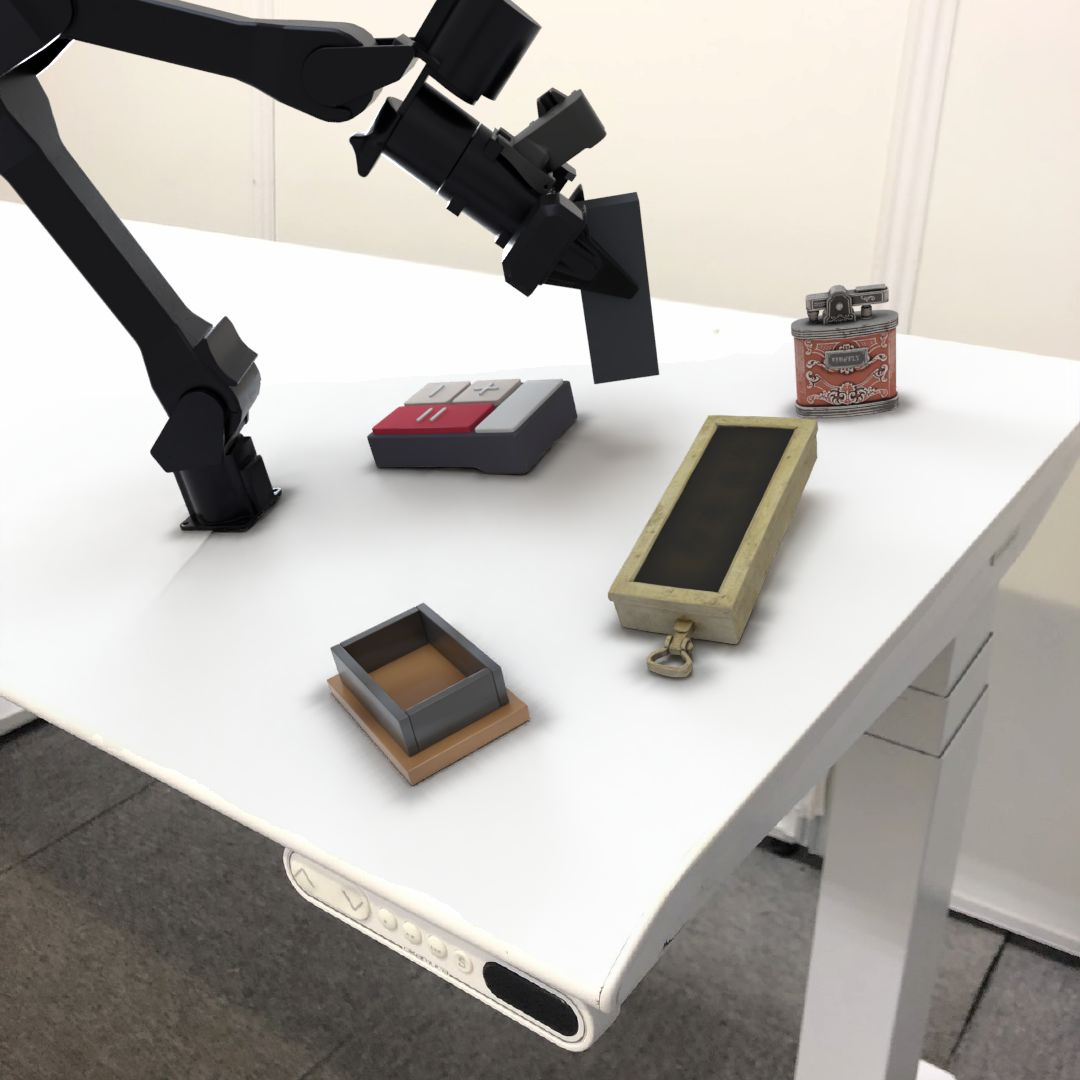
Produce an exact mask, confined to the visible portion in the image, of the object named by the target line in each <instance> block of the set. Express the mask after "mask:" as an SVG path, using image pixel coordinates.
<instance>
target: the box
mask: <svg viewBox="0 0 1080 1080" xmlns="http://www.w3.org/2000/svg"><path fill="white" fill-rule="evenodd" d="M818 432H819V423H818V419H816V418H806V417H783V416H782V417H781V416H780V417H779V416H759V415H758V416H757V415H755V416H754V415H724V414H723V415H722V414H712V415H711V414H710V415H707V417H706V418H705V421H704V422H703V424H702V425H701V427H700V429H699V430H698V433H697V434H696V435H695V438H694V440H693V442H692V444H691V445H690V447H689V449H688V451H687V453H686V454H685V456H684V458H683V460H682V461H681V464H680V465H679V467H678V468H677V470H676V471H675V473H674V475H673V476H672V479H671V480H670V483H669V484H668V486H667V487H666V488H665V491H664V492H663V494H662V496H661V498H660V499H659V502H658V503H657V505H656V506H655V508H654V510H653V512H652V514H651V516H650V517H649V519H648V521H647V522H646V524H645V525H644V527H643V529H642V531H641V532H640V534H639V536H638V538H637V539H636V541H635V543H634V545H633V547H632V548H631V551H630V552H629V554H628V555H627V557H626V559H625V561H624V563H623V564H622V566H621V568H620V570H619V571H618V573H617V575H616V576H615V578H614V580H613V582H612V584H611V585H610V588H609V590H608V591H607V598H608V600H609V601H610V602H613V605H614V609H615V611H616V615H617V618H618V621H619V623H620V626H621V628H626V629H627V628H628V629H634V630H639V631H644V632H650V633H656V634H657V633H658V634H664V635H667V636H666V638H665V640H664V641H663V644H662V645H663V647H661V648H659V649H657V650H655V651H652V652H651V653H649V654H648V655H647V656H646V666H647V668H648V669H649V671H651V672H653V673H656V674H658V675H661V676H666V677H670V678H683V677H685V678H686V677H688V676H689V675H690V673H691V672H692V671H693V667H694V664H693V659H691V658H692V657H690V655H691V654H692V653H693V652H695V645H694V643H693V642H692V640H691V639H697V640H704V641H710V642H718V643H725V644H731V645H736V644H739V642H740V640H741V638H742V636H743V633H744V631H745V628H746V625H747V624H748V621H749V619H750V616H751V614H752V611H753V609H754V607H755V604H756V602H757V600H758V597H759V594H760V592H761V590H762V587H763V585H764V582H765V580H766V578H767V575H768V573H769V571H770V569H771V567H772V564H773V562H774V559H775V557H776V555H777V552H778V550H779V548H780V546H781V543H782V542H783V539H784V537H785V534H786V532H787V529H788V528H789V525H790V524H791V521H792V518H793V516H794V514H795V512H796V510H797V507H798V505H799V503H800V500H801V498H802V496H803V493H804V491H805V488H806V486H807V483H808V482H809V480H810V477H811V474H812V471H813V469H814V467H815V464H816V462H817V459H818V437H817V434H818ZM669 655H670V656H671V655H675V656H681V659H682V660H683V661H684V664H683V665H680V666H670V665H665V664H662V663H661V664H660V663H657V662H656V661H658V660H659V659H662V658H665V657H667V656H669Z"/></svg>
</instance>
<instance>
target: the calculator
mask: <svg viewBox="0 0 1080 1080" xmlns="http://www.w3.org/2000/svg"><path fill="white" fill-rule="evenodd" d="M577 419H578V412H577V407H576V402H575V398H574V395H573V388H572V384H571V382H570V381H569V380H563V378H549V379H529V380H526V381H524V382H523V381H522V380H521V378H504V379H503V378H502V379H500V378H499V379H483V380H482V379H481V380H476V381H474V382H473V383H472V382H471V381H470V380H460V381H459V380H458V381H439V382H437V381H436V382H428V383H427V384H425V385H424V386H423V387H421V388H420V389H419V390H418V391H417V392H415V393H413V394H412V395H411V396H410V397H409V398H407V400H405V401H404V402H403V405H402V406H398V407H396V408H395V409H394V410H393V411H392V412H390V413H389V414H387V415H386V416H385V417H383V419H381V420H380V421H379V422H377V423H376V424H375V425H373V427H372V428H371V430H372V431H371V432H370V433H369V434H368V435H367V436H366V440H367V442H368V446H369V449H370V452H371V455H372V458H373V461H374V464H375V466H376V467H378V468H477V469H478V470H480V471H481V472H484V473H486V474H489V475H490V474H493V475H494V474H498V475H501V474H502V475H503V474H504V475H505V474H507V475H508V474H509V475H511V474H512V475H515V474H516V475H517V474H518V475H519V474H520V475H523V474H526V473H528V472H529V471H530V470H531V469H532V468H533V467H534V466H535V465H536V464H537V463H538V462H539V460H540V459H541V458H542V457H543V456H544V455H545V454H546V453H547V452H548V451H549V450H550V448H552V446H553V445H554V444H555V443H556V442H557V441H558V440H559V439H560V438H561V436H562V435H563V434H565V432H566V431H567V430H568V429H569V428H570V427H571V426H572V425H573V423H575V421H577Z"/></svg>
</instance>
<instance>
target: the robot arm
mask: <svg viewBox="0 0 1080 1080" xmlns="http://www.w3.org/2000/svg"><path fill="white" fill-rule="evenodd" d="M542 28H543V27H542V25H541V24H540V23H538V21H536V20H535V19H534V17H532V16H531V15H529V13H528V12H526V11H525V10H524V9H522V8H521V7H520V6H519V5H518V4H516V3H515V2H514V1H513V0H435V2H434V3H433V4H432V6H431V8H430V10H429V11H428V13H427V16H426V17H425V19H424V20H423V22H422V23H421V25H420V27H419V29H418V31H416V34H415V35H414V36H408V35H406V34H405V33H401V34H400V35H398V36H393V37H374V36H373V34H372V33H371V32H369V31H368V30H367V29H365V28H364V27H362V26H360V25H358V24H355V23H352V22H346V21H331V20H329V21H328V20H312V19H311V20H310V19H284V18H283V19H282V18H281V19H279V18H278V19H277V18H276V19H275V18H254V17H250V16H245V15H240V14H236V13H233V12H229V11H225V10H220V9H218V8H217V9H216V8H212V7H209V6H204V5H201V4H198V3H197V4H196V3H193V2H188V1H186V0H185V1H184V0H0V176H1V177H2V178H3V179H4V180H5V181H6V183H8V184H9V186H10V187H11V188H12V189H13V190H14V192H15V193H16V194H17V196H18V197H19V198H20V199H21V201H22V202H23V204H25V206H26V207H27V208H28V209H29V211H30V212H31V213H32V215H33V216H34V217H35V218H36V219H37V221H38V222H39V223H40V224H41V226H42V227H43V228H44V230H45V231H46V232H47V233H48V235H49V236H50V237H51V238H52V240H53V241H54V242H55V243H56V244H57V246H58V247H59V248H60V250H61V251H62V252H63V253H64V255H65V256H66V257H67V258H68V260H69V261H70V262H71V263H72V264H73V266H74V267H75V269H77V271H78V272H79V273H80V275H81V276H82V277H83V279H85V281H86V282H87V283H88V284H89V286H90V287H91V288H92V289H93V291H94V292H95V293H96V295H97V296H98V297H99V298H100V300H101V301H102V302H103V304H105V306H106V307H107V308H108V309H109V311H110V312H111V314H112V315H113V316H114V317H115V318H116V320H117V321H118V322H119V323H120V324H121V326H122V327H123V328H124V330H125V331H126V332H127V334H128V335H129V336H130V337H131V338H132V339H133V341H134V342H135V344H136V345H137V347H138V349H139V351H140V354H141V357H142V361H143V364H144V368H145V371H146V374H147V377H148V380H149V384H150V386H151V389H152V391H153V393H154V395H155V396H156V398H157V400H158V402H159V403H160V405H161V406H162V408H163V410H164V411H165V414H166V416H167V417H168V419H167V421H166V423H165V424H164V426H163V428H162V430H161V431H160V432H159V435H158V436H157V438H156V440H155V442H154V443H153V445H152V446H151V448H150V450H149V453H150V455H151V457H152V458H153V459H154V460H155V461H156V463H157V464H158V465H159V467H160V468H161V469H162V470H163V471H164V472H165V473H166V474H171V473H173V476H174V478H175V481H176V484H177V486H178V489H179V491H180V494H181V496H182V500H183V502H184V504H185V507H186V509H187V512H188V516H187V517H186V519H184V520H183V521H182V522H181V523H180V524H179V528H180V531H182V532H216V531H217V532H224V531H226V532H227V531H228V532H230V531H231V532H232V531H233V532H235V531H237V532H238V531H239V532H240V531H246V530H248V529H249V528H250V527H251V526H252V525H253V524H254V523H255V522H256V521H257V520H258V519H259V518H260V517H261V516H262V515H263V514H264V513H265V512H266V511H267V510H268V509H270V507H271V506H272V505H273V504H274V503H275V502H276V501H277V500H278V499H279V498H280V497H281V496H282V495H283V491H282V488H281V487H273V485H272V482H271V479H270V476H269V474H268V470H267V468H266V465H265V462H264V459H263V456H262V455H261V454H259V453H257V450H256V447H255V444H254V441H253V438H252V436H251V435H244V434H243V433H241V431H242V430H243V428H244V426H245V425H247V424H248V423H249V420H250V410H251V408H252V406H253V405H254V404H255V402H256V400H257V399H258V397H259V395H260V391H261V384H262V383H261V382H262V377H261V372H260V370H259V367H258V366H257V364H256V362H255V361H256V360H257V358H258V357H259V353H258V352H256V351H254V350H253V349H252V348H250V347H249V346H248V345H247V344H246V343H245V342H244V340H243V339H242V338H241V336H240V334H239V332H238V331H237V329H236V327H235V325H234V323H233V322H232V320H231V319H230V318H229V317H228V316H227V315H222V316H221V317H220V318H219V319H218V320H217V321H216V322H215V323H214V324H213V323H211V322H209V320H206V319H205V318H203V317H201V316H199V315H198V314H196V313H195V312H193V311H192V310H191V309H190V308H189V307H188V306H187V305H186V304H185V302H184V301H183V300H182V299H181V297H180V296H179V295H178V293H177V292H176V291H175V290H174V289H175V288H173V287H172V286H171V284H170V283H169V282H168V280H167V279H166V277H165V276H164V274H162V272H161V271H160V270H159V268H158V267H157V266H156V264H155V263H154V262H153V260H152V259H151V258H150V256H149V255H148V254H147V253H146V251H145V250H144V248H143V247H142V246H141V245H140V244H139V242H138V241H137V239H136V238H135V236H134V235H133V234H132V233H131V231H130V230H129V229H128V227H127V226H126V225H125V223H123V221H122V219H121V218H120V217H119V215H118V214H117V213H116V212H115V210H114V209H113V208H112V206H111V205H110V204H109V203H108V201H107V200H106V198H105V197H104V195H103V194H102V193H101V192H100V191H99V189H98V188H97V186H95V184H94V183H93V182H92V180H91V179H90V178H89V176H88V175H87V173H86V172H85V171H84V170H83V168H82V167H81V165H80V164H79V163H78V162H77V160H76V159H75V158H74V156H73V155H72V154H71V152H70V151H69V150H68V148H67V147H66V145H65V143H64V142H63V140H62V138H61V135H60V132H59V129H58V125H57V121H56V118H55V115H54V111H53V109H52V104H51V102H50V99H49V96H48V95H47V93H46V91H45V89H44V87H43V86H42V84H41V82H40V80H39V78H38V76H40V75H41V74H42V73H43V72H45V71H46V70H47V69H49V67H51V66H52V65H53V64H54V63H56V62H57V60H58V59H59V58H60V57H61V56H62V55H63V54H64V53H65V52H66V51H67V49H68V48H69V47H70V46H71V45H72V44H73V43H74V42H75V41H78V42H81V43H85V44H90V45H94V46H97V47H98V46H99V47H103V48H106V49H111V50H114V51H119V52H123V53H126V54H131V55H134V56H135V55H136V56H139V57H143V58H147V59H150V60H155V61H160V62H163V63H164V62H165V63H168V64H173V65H176V66H180V67H185V68H189V69H193V70H197V71H201V72H205V73H209V74H213V75H218V76H222V77H226V78H230V79H234V80H237V81H239V82H241V83H243V84H245V85H247V86H250V87H252V88H254V89H255V90H258V91H259V92H261V93H263V94H264V95H266V96H268V97H270V98H271V99H273V100H274V101H276V102H278V103H280V104H282V105H285V106H288V107H290V108H292V109H294V110H297V111H299V112H301V113H304V114H306V115H308V116H310V117H312V118H315V119H318V120H320V121H322V122H327V123H336V124H339V123H340V124H341V123H345V122H350V121H351V120H353V119H355V118H356V117H358V116H359V115H360V114H362V113H363V112H364V111H366V110H367V109H369V107H370V106H371V105H372V104H374V103H375V101H376V100H377V99H378V97H379V96H380V94H381V93H382V92H383V89H384V88H385V87H387V86H389V85H393V84H395V83H397V82H399V81H400V80H401V79H402V78H403V77H404V76H406V75H407V74H408V73H409V72H410V71H412V70H413V68H414V67H415V66H416V64H417V63H418V61H419V59H420V60H421V61H422V62H424V66H423V68H422V69H421V71H420V73H419V74H418V76H417V78H416V80H415V81H414V82H413V85H412V86H411V88H410V90H409V91H408V92H407V95H405V97H404V99H403V100H401V99H399V98H397V97H394V96H387V97H386V98H385V100H384V102H383V104H382V105H381V107H380V109H379V110H378V112H377V114H376V115H375V117H374V119H373V120H372V122H371V123H370V126H369V127H368V129H367V130H365V131H355V132H354V133H352V134H351V135H350V137H349V138H348V143H349V145H350V146H351V148H352V150H353V153H354V157H355V162H356V168H357V169H356V171H357V174H358V176H359V177H361V178H367V177H368V176H369V174H371V172H372V171H373V169H374V168H375V167H376V165H377V164H378V162H379V161H380V159H381V157H382V156H383V157H384V158H386V159H387V160H388V161H390V162H391V163H393V164H394V165H395V166H397V167H398V168H399V169H401V170H402V171H403V172H405V173H406V174H408V175H409V176H411V177H412V178H414V179H415V180H416V181H418V182H419V183H421V184H422V185H424V186H425V187H426V188H428V189H429V190H431V191H432V192H434V193H435V194H436V195H438V196H439V197H441V198H442V199H443V200H444V201H446V202H447V204H446V207H445V209H446V210H448V211H449V212H450V213H451V214H453V215H455V216H456V217H457V218H458V217H459V216H460V215H461V213H463V214H464V215H466V216H467V217H468V218H470V219H472V221H474V222H476V223H477V224H479V225H480V226H481V227H483V228H484V229H485V230H487V231H488V232H490V233H491V234H492V235H493V236H495V237H494V244H495V245H497V246H498V247H500V248H501V249H502V257H501V267H502V273H503V276H504V281H505V283H507V284H508V285H509V286H511V287H513V288H514V289H515V290H516V291H518V292H519V293H521V294H522V295H524V296H525V297H527V298H529V297H530V296H531V295H532V294H533V293H534V292H535V290H536V289H537V288H538V286H540V287H541V286H543V285H547V286H553V287H561V288H568V289H574V290H579V291H580V290H584V291H590V292H595V293H600V294H605V295H610V296H616V297H621V298H626V299H632V298H633V297H634V295H635V294H636V293H637V291H638V290H639V286H638V285H637V283H636V282H635V281H634V280H633V279H632V278H631V277H630V276H629V275H628V274H627V273H626V272H625V271H624V270H623V269H622V268H621V266H620V265H619V264H618V263H617V262H616V261H615V260H614V259H613V258H612V257H611V256H610V255H609V254H608V253H607V252H606V251H605V250H604V249H603V248H602V247H601V246H600V245H599V244H598V243H597V242H596V241H595V240H594V239H593V237H592V236H591V235H590V231H589V224H588V217H587V211H586V206H585V205H583V206H582V207H581V209H579V208H578V207H577V206H576V205H575V204H574V203H573V202H577V201H584V200H586V199H585V192H584V187H583V184H582V183H579V184H578V185H577V186H576V188H575V189H574V190H573V192H572V193H571V195H570V196H569V197H566V196H565V195H564V194H563V193H561V191H562V190H563V189H564V187H565V185H566V184H567V183H568V181H570V182H571V183H572V182H573V181H574V180H575V178H576V177H577V169H576V168H575V167H573V166H572V165H570V164H569V163H568V162H569V161H571V160H572V159H573V158H574V157H576V156H578V155H579V154H580V153H582V152H583V151H585V150H586V149H588V150H589V149H590V150H591V149H593V148H594V147H595V146H596V145H598V144H599V143H601V141H603V140H604V139H605V138H606V136H607V131H606V127H605V126H604V124H603V122H602V121H601V119H600V118H599V116H598V115H597V113H596V111H595V109H594V108H593V107H592V104H591V103H590V102H589V100H588V98H587V96H586V95H585V93H584V91H583V90H582V89H581V88H579V89H573V91H572V92H570V94H569V95H567V94H565V93H564V92H562V91H560V90H559V89H556V88H555V87H553V86H552V87H551V88H549V89H548V90H547V91H545V92H544V93H542V94H541V95H540V96H539V97H537V98H536V110H537V119H535V120H532V121H530V122H529V125H528V126H526V127H525V128H524V129H522V130H521V131H520V132H518V133H517V134H516V135H514V134H511V133H510V132H509V131H507V130H506V129H505V128H503V127H502V126H500V127H499V128H496V127H493V129H492V130H491V129H490V128H489V127H487V126H486V125H484V123H482V122H481V121H479V120H478V119H477V118H475V116H473V115H471V114H470V113H468V112H467V111H466V110H464V109H463V108H462V107H460V106H459V105H458V104H457V103H455V102H454V101H452V100H451V99H450V98H449V97H448V96H446V95H444V94H443V93H442V92H440V91H439V90H438V89H437V88H435V87H434V86H432V85H431V84H430V83H428V82H427V80H428V79H429V77H431V78H432V79H433V80H434V81H435V82H437V83H438V84H439V85H440V86H442V87H443V88H444V89H446V90H447V92H449V93H451V94H452V95H454V96H455V97H456V98H458V99H459V100H461V101H462V102H464V103H466V104H468V105H471V106H475V105H476V103H478V101H479V100H480V99H481V97H484V98H486V99H488V100H490V101H493V102H495V101H496V100H497V99H498V97H499V96H500V94H501V92H502V91H503V90H504V88H505V86H506V85H507V83H508V82H509V80H510V78H511V77H512V75H513V74H514V72H515V71H516V70H517V67H518V66H519V64H520V62H521V61H522V59H524V56H525V55H526V54H527V52H528V50H529V49H530V47H531V45H532V44H533V42H534V41H535V39H536V37H538V35H539V33H540V31H541V30H542Z"/></svg>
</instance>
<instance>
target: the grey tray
mask: <svg viewBox="0 0 1080 1080" xmlns="http://www.w3.org/2000/svg"><path fill="white" fill-rule="evenodd" d="M329 649H330V652H331V655H332V658H333V661H334V664H335V667H336V670H337V674H335V675H333V676H331V677H329V678H327V679H326V682H327V685H328V689H329V691H330V693H331V694H332V695H333V696H334V698H335V699H336V700H337V701H338V702H339V704H340V705H341V706H342V707H343V708H344V709H345V710H346V711H347V713H348V714H349V715H350V716H351V717H352V718H353V720H354V721H355V722H357V724H358V725H359V726H360V728H361V729H362V730H363V731H364V732H365V733H366V735H367V736H368V737H369V738H370V740H372V741H373V743H374V744H375V745H376V746H377V747H378V748H379V750H380V751H381V752H382V753H383V754H384V755H385V756H386V757H387V759H388V760H389V761H390V763H392V765H393V766H394V767H395V768H396V769H397V770H398V771H399V773H400V774H401V775H402V776H403V777H404V778H405V780H406V781H407V782H408V783H409V784H410V785H411V786H415V785H416V784H418V783H420V782H421V781H423V780H425V779H427V778H428V777H431V776H432V775H434V774H436V773H437V772H439V771H441V770H443V769H444V768H446V767H448V766H450V765H451V764H453V763H455V762H457V761H458V760H460V759H462V758H464V757H465V756H467V755H469V754H471V753H473V752H475V751H476V750H479V749H480V748H481V747H483V746H485V745H487V744H489V743H490V742H492V741H493V740H496V739H497V738H499V737H501V736H502V735H504V734H506V733H508V732H510V731H512V730H513V729H515V728H517V727H518V726H520V725H522V724H524V723H526V722H527V721H529V720H531V716H530V712H529V706H528V705H527V704H526V703H525V702H524V701H523V700H522V699H520V698H519V697H518V696H517V695H516V694H515V693H514V692H512V691H511V690H510V689H509V688H508V687H507V686H506V683H505V678H504V674H503V669H502V666H501V665H499V664H498V663H497V662H496V661H494V660H493V659H492V658H491V657H490V656H489V655H488V654H487V653H486V652H484V651H483V650H481V649H480V648H479V647H478V646H477V645H475V644H474V643H473V642H472V641H471V640H469V639H468V638H467V637H466V636H465V635H464V634H462V633H461V632H459V630H457V628H455V627H454V626H453V625H451V624H450V623H449V622H448V621H446V620H445V619H444V618H443V617H442V616H441V615H439V614H438V613H437V612H436V611H435V610H433V608H431V607H430V606H428V605H427V603H425V602H422V603H419V604H417V605H415V606H413V607H411V608H409V609H407V610H404V611H403V612H400V613H399V614H397V615H394V616H392V617H390V618H388V619H386V620H384V621H382V622H380V623H377V624H376V625H373V626H372V627H370V628H367V629H366V630H364V631H362V632H359V633H357V634H356V635H353V636H351V637H349V638H347V639H345V640H343V641H341V642H339V643H337V644H335V645H333V646H330V648H329Z"/></svg>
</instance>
